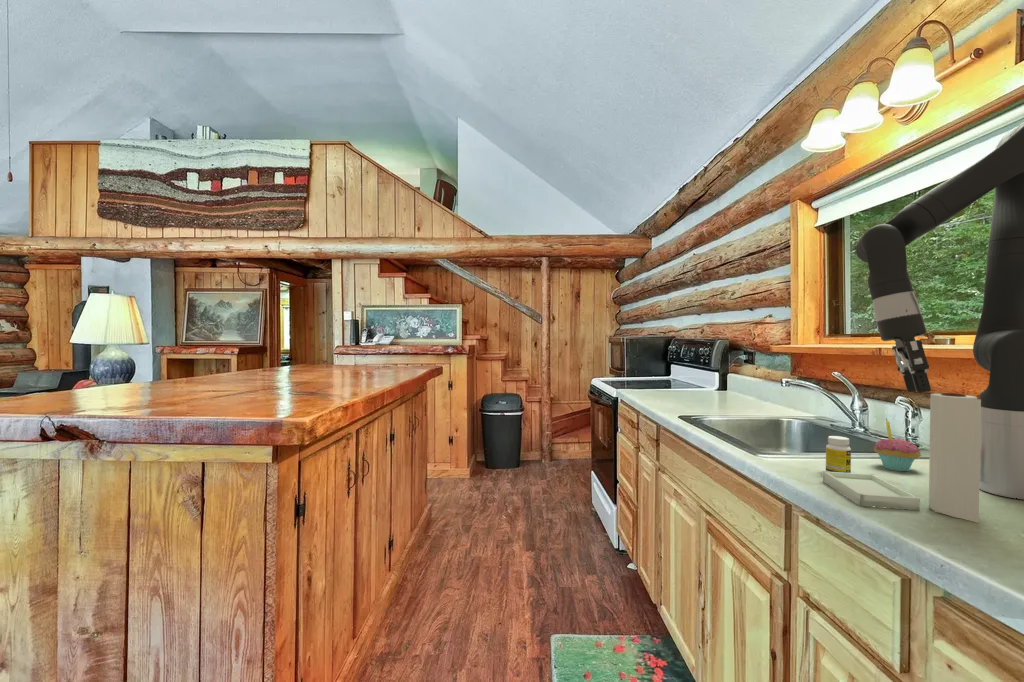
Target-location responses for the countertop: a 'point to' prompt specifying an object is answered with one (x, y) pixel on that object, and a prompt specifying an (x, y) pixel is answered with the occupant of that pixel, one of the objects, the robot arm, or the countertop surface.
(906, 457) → the cupcake
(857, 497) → the tray
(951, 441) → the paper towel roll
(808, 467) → the countertop surface
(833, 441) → the supplement bottle
